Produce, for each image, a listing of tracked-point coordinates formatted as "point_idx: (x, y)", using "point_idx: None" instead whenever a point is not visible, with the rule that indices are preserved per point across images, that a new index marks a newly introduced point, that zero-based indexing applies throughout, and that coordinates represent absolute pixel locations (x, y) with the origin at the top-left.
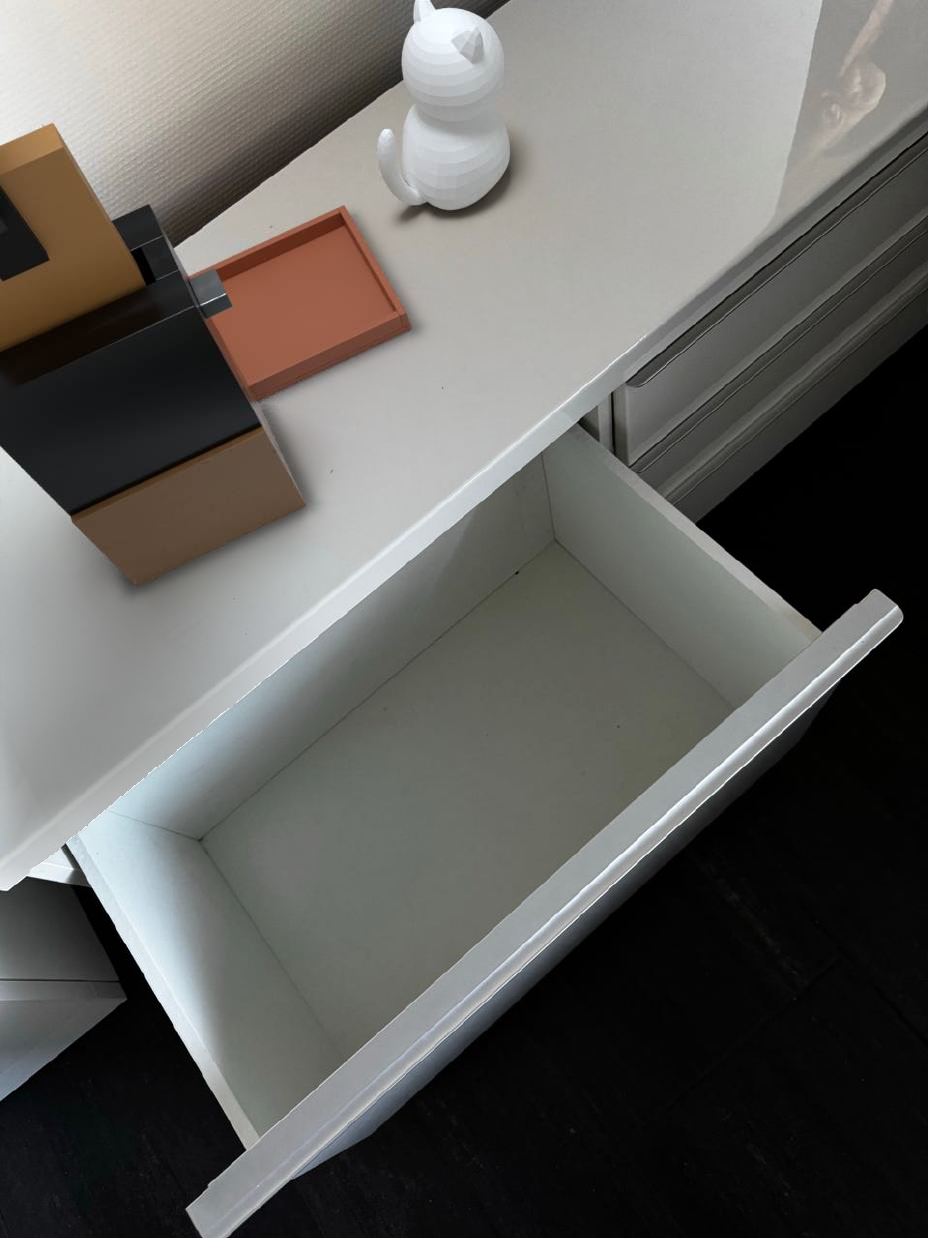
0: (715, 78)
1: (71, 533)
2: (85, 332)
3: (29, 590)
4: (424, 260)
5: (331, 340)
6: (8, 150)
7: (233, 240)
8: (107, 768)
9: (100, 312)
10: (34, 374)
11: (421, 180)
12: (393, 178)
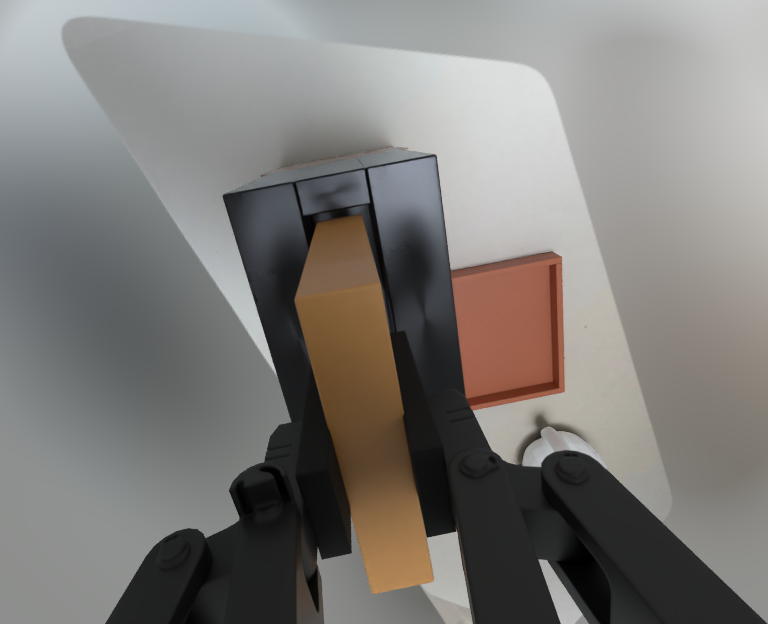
0: None
1: (351, 111)
2: (306, 352)
3: (303, 60)
4: (495, 422)
5: None
6: (402, 526)
7: (589, 296)
8: (111, 117)
9: None
10: (260, 289)
11: (546, 453)
12: (551, 445)
